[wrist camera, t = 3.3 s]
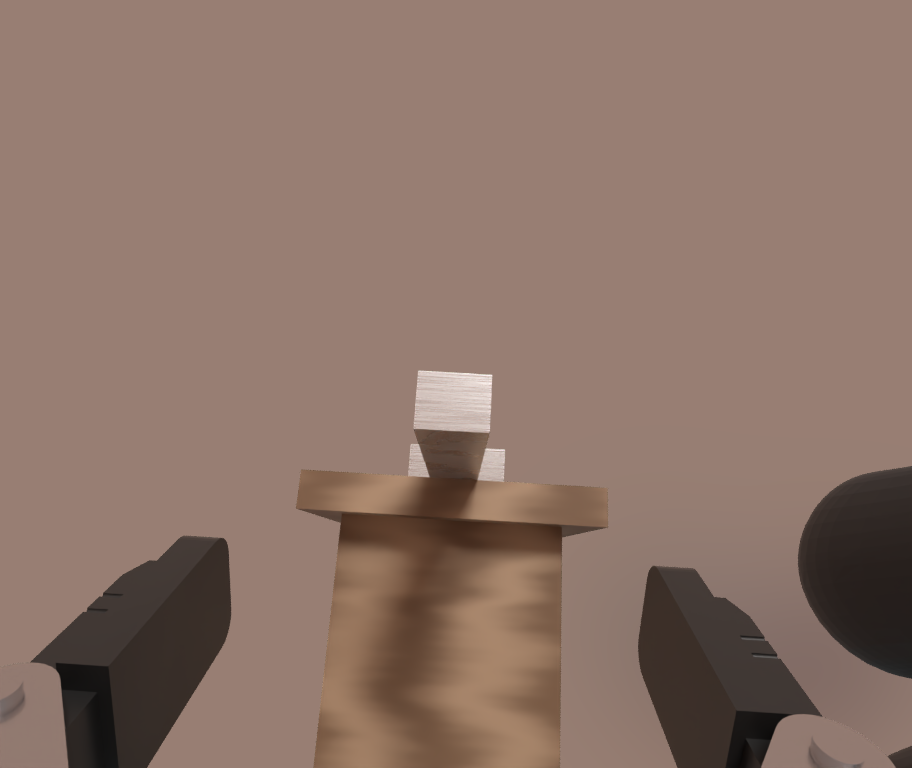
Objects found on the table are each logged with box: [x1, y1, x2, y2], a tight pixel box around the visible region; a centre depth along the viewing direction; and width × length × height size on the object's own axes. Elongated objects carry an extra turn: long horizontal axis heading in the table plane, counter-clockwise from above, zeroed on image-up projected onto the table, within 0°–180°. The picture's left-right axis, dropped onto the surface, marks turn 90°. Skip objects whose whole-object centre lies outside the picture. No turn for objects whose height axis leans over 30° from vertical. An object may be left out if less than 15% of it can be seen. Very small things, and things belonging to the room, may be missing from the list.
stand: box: [296, 470, 608, 768], centre depth 36 cm, size 16×20×32 cm
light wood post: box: [408, 371, 505, 482], centre depth 35 cm, size 7×32×4 cm, turn 0°
